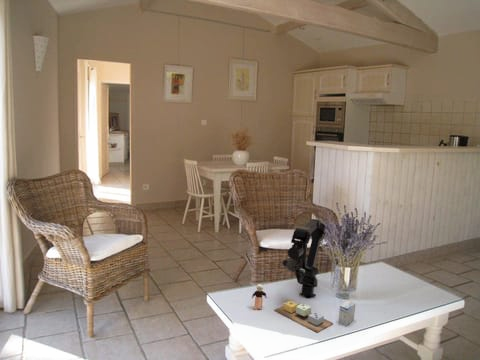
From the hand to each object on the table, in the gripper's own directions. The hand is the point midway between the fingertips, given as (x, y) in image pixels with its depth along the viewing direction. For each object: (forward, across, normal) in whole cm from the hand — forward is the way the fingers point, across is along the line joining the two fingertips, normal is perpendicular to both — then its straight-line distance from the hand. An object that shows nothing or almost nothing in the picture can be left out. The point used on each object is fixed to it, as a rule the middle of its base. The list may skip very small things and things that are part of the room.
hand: (299, 282), depth 202 cm
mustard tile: (+11, +2, -8) cm, 14 cm away
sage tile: (+10, +9, -8) cm, 16 cm away
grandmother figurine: (+12, -10, -18) cm, 24 cm away
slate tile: (+11, +17, -8) cm, 22 cm away
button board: (+12, +10, -8) cm, 17 cm away
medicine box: (+12, +25, +5) cm, 28 cm away
